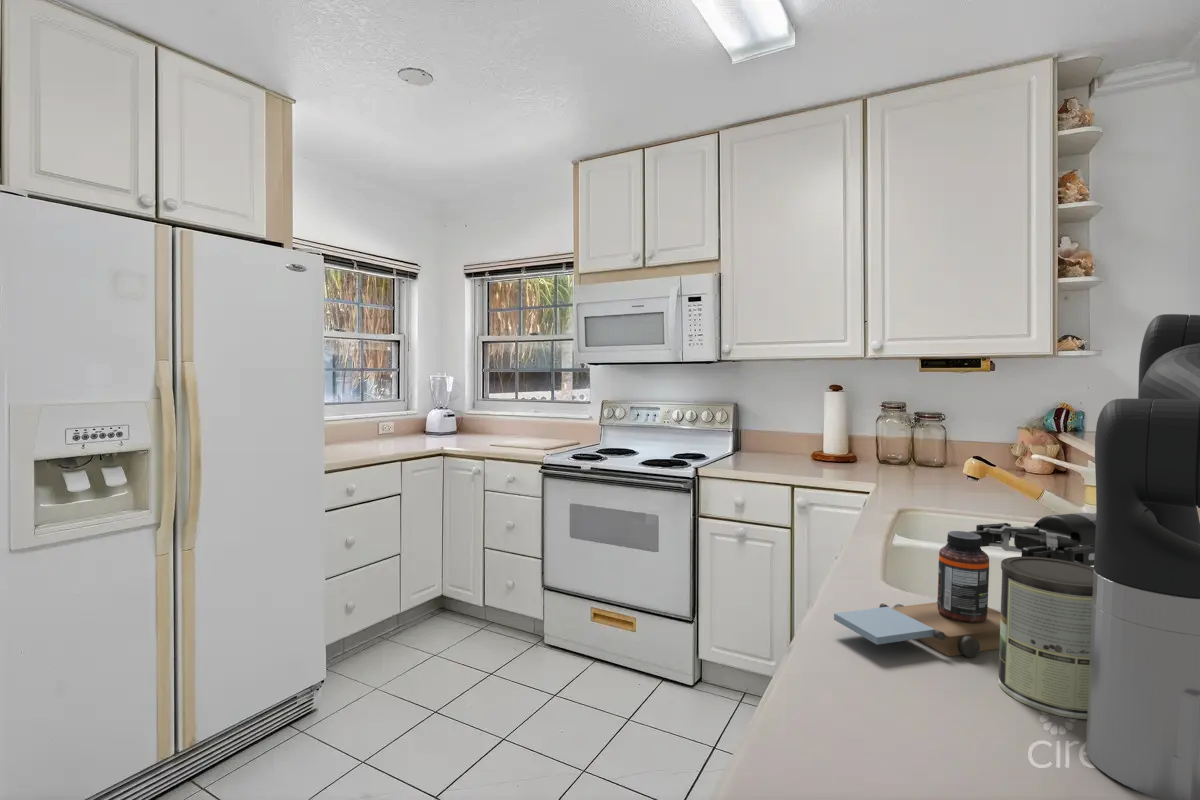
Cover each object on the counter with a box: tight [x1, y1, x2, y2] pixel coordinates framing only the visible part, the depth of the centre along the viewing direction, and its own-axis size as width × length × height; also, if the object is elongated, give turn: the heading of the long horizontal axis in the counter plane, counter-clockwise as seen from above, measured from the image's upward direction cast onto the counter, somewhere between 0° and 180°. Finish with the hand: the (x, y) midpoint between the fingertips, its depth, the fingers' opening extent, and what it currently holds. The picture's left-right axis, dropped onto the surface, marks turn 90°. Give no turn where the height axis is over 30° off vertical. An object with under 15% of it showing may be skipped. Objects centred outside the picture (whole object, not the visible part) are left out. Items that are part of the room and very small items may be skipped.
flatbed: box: [878, 601, 1001, 659], centre depth 83 cm, size 12×15×3 cm
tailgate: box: [833, 606, 935, 646], centre depth 80 cm, size 8×1×9 cm
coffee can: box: [997, 555, 1094, 721], centre depth 67 cm, size 10×10×14 cm
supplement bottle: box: [936, 530, 990, 623], centre depth 83 cm, size 6×6×11 cm
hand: (994, 547), depth 85 cm, fingers open, 8 cm apart
